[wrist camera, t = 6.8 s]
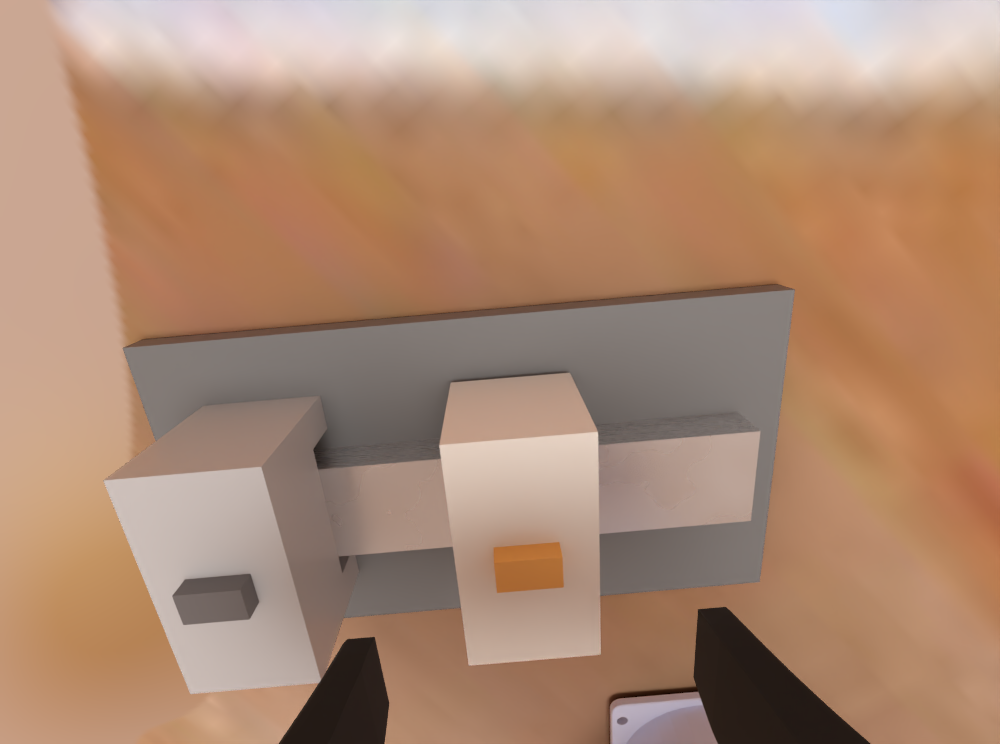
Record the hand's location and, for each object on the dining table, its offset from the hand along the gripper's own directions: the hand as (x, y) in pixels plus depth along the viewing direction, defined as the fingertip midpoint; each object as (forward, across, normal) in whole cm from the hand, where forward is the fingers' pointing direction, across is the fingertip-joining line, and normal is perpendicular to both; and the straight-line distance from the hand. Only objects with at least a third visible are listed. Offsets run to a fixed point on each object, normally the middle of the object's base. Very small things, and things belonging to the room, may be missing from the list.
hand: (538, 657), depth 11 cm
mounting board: (+9, +2, 0) cm, 9 cm away
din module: (+7, 0, 0) cm, 7 cm away
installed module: (+9, +8, 0) cm, 12 cm away
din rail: (+8, +1, 0) cm, 8 cm away
